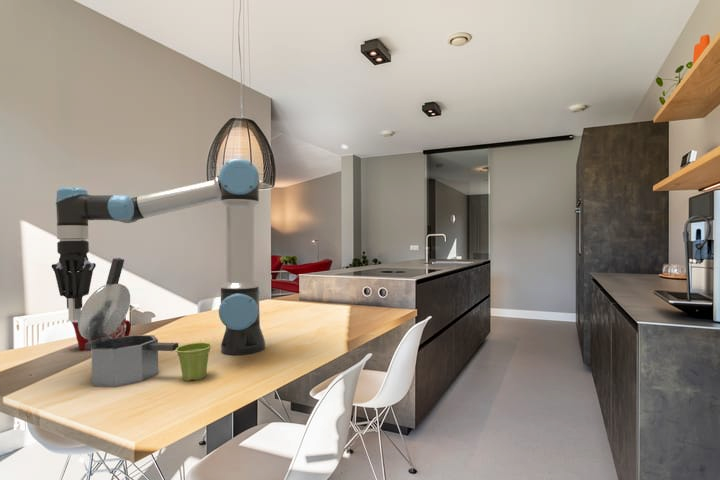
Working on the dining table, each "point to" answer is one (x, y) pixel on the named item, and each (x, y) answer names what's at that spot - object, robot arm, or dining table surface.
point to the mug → (121, 330)
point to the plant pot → (194, 360)
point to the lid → (105, 307)
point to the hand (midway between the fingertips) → (74, 319)
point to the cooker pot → (126, 359)
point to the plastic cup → (79, 336)
